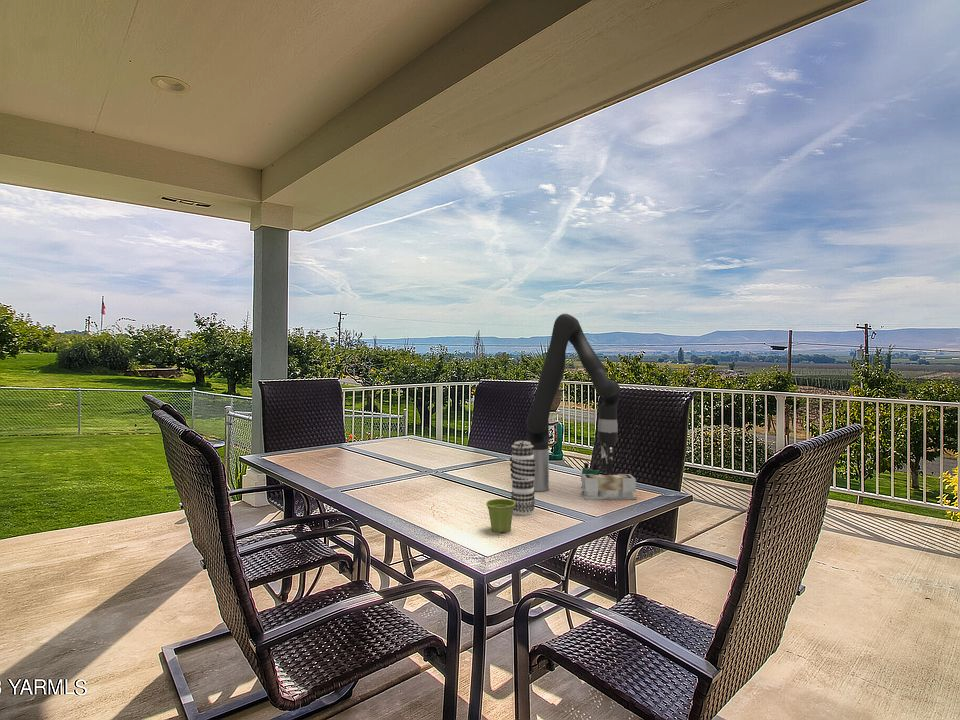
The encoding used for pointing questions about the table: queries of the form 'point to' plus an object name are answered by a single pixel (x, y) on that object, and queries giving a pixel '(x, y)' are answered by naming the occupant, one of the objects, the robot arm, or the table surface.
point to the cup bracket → (592, 491)
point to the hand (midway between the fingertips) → (607, 471)
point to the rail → (609, 481)
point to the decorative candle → (522, 477)
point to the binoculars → (590, 470)
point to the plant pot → (500, 514)
